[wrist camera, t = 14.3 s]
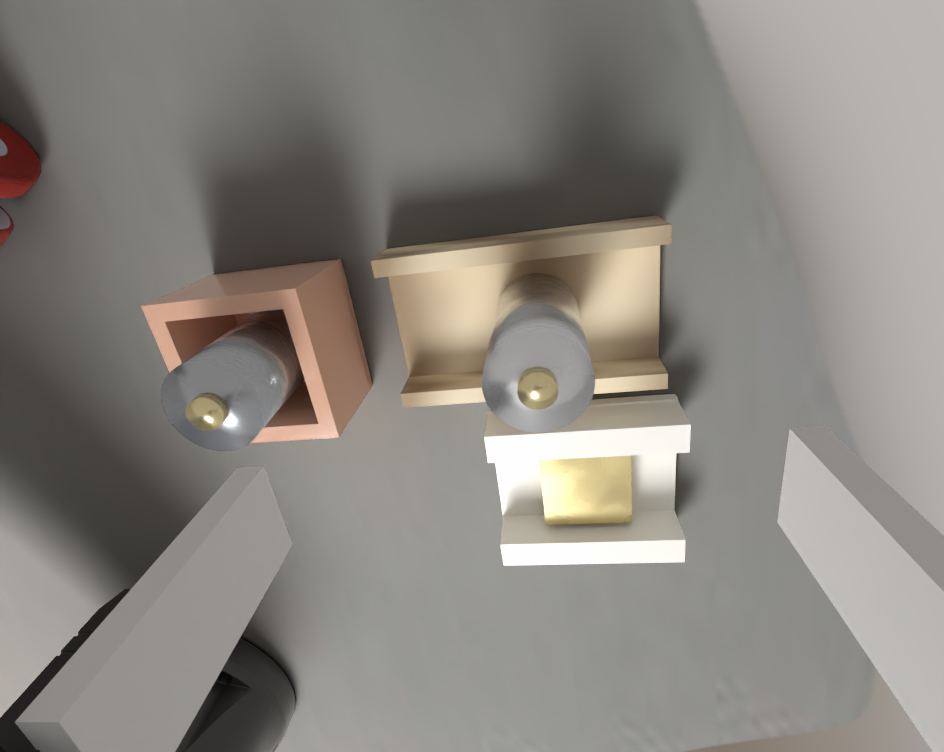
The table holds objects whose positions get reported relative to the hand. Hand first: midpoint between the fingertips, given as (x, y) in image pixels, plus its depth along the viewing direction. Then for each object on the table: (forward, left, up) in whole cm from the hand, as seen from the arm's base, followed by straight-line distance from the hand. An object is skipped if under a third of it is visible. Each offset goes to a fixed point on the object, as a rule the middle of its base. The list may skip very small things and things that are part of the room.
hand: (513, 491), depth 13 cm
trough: (0, 0, -14) cm, 14 cm away
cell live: (+1, 0, -14) cm, 14 cm away
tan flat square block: (+2, -10, -14) cm, 17 cm away
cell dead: (-13, 0, -14) cm, 19 cm away
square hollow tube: (-13, 0, -14) cm, 19 cm away
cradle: (+2, -10, -14) cm, 18 cm away
